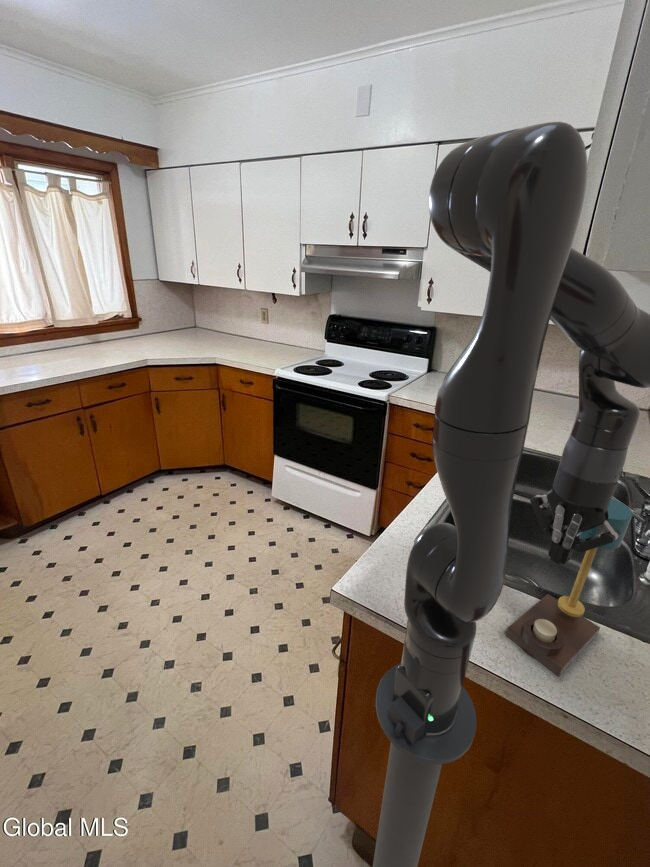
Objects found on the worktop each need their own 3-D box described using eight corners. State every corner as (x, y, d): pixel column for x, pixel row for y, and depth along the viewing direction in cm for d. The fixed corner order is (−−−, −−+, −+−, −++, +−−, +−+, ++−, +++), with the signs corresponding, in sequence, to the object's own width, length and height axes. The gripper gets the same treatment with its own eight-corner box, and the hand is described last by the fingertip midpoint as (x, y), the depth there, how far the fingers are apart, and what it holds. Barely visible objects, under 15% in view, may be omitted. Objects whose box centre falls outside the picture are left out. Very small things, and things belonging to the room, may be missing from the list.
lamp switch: (547, 646, 73) (550, 639, 72) (528, 632, 76) (530, 625, 75) (558, 636, 75) (561, 629, 74) (539, 622, 78) (541, 615, 77)
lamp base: (556, 679, 71) (562, 663, 70) (503, 637, 79) (507, 622, 77) (596, 635, 79) (603, 620, 78) (545, 601, 87) (550, 586, 85)
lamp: (580, 629, 76) (621, 525, 66) (542, 604, 81) (575, 503, 71) (598, 611, 80) (640, 510, 70) (561, 588, 85) (595, 490, 75)
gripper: (531, 455, 64) (507, 547, 71) (629, 496, 54) (589, 597, 61) (557, 443, 68) (531, 531, 75) (652, 480, 58) (612, 576, 65)
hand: (557, 561), depth 68 cm, fingers closed
